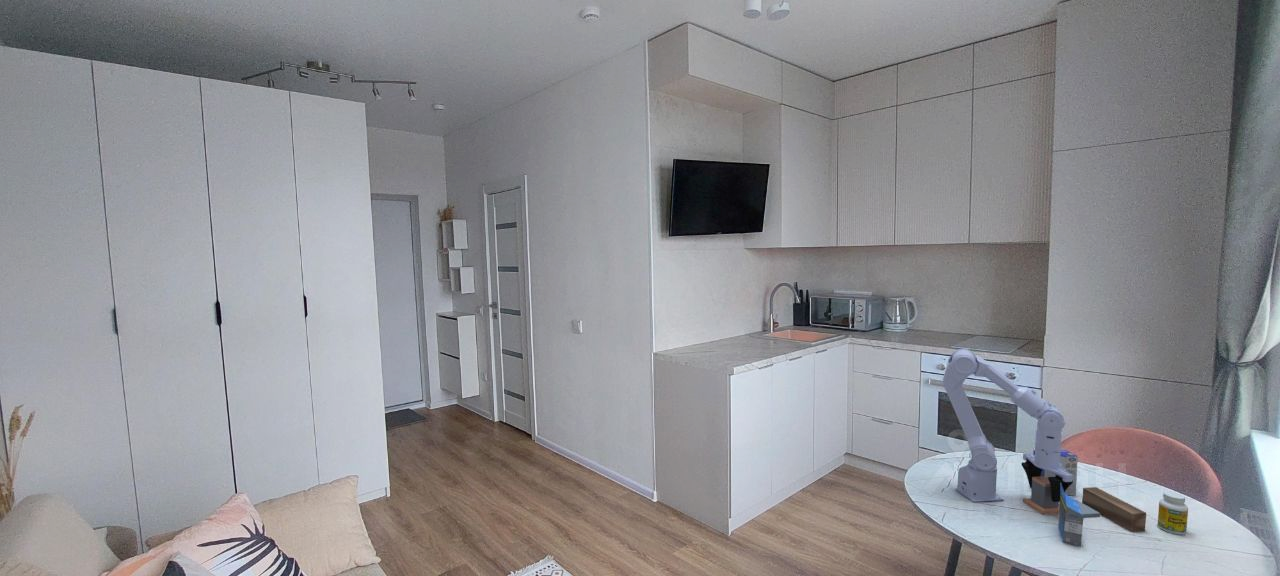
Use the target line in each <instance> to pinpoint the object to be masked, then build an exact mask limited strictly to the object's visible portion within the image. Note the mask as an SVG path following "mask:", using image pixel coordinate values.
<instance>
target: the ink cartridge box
mask: <svg viewBox="0 0 1280 576" xmlns="http://www.w3.org/2000/svg"><path fill="white" fill-rule="evenodd" d="M1033 455H1035V449H1034V450H1033ZM1078 459H1079V456H1078V455H1076V454H1074V453H1072V452H1070V451H1068V450H1067V449H1061V453H1060V463H1061V464H1062V467H1063V468H1064V469H1065V470H1066V471H1067V472H1068V473H1070V474H1072V475H1073V479H1072V480H1073V483H1072V484H1071V485H1070V486H1069V487H1068V488H1067V490H1066V491H1065V494H1066V495H1068V496H1076V495H1077V480H1078V478H1077V477H1078V476H1077V475H1078ZM1041 476H1047V477H1055V475H1054V474H1052V473H1050V472H1048V471H1046V470H1044V469H1043V470H1042V473H1041ZM1041 476H1040V477H1041Z"/></svg>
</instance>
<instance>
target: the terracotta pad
mask: <svg viewBox="0 0 1280 576" xmlns="http://www.w3.org/2000/svg"><path fill="white" fill-rule="evenodd" d="M1022 503H1023V504H1025V505H1027V506H1028V507H1030V508H1032V509H1034V510H1035V511H1037V512H1038V513H1040V514H1041V515H1057V514H1058V515H1059V507H1060V506H1058V508H1044V509H1043V508H1042V507H1040V506H1039V505H1037V504H1036V503H1034V502H1032V501H1031V497H1028V498H1022Z"/></svg>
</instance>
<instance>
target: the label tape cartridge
mask: <svg viewBox="0 0 1280 576" xmlns="http://www.w3.org/2000/svg"><path fill="white" fill-rule="evenodd" d="M1084 518H1085V517H1084V515H1083V513H1082V511H1081V509H1080V506H1079V504H1078V502H1077V499H1075V498H1073V497H1072V496H1071V495H1066V494H1065V493H1064V490H1063V487H1062V485H1061V483H1060V507H1059V514H1058V523H1057V527H1058V530H1059V534H1060V537H1061V541H1062V543H1064V544H1065V543H1066V544H1070V545H1074V546H1078V547H1081V546H1082V542H1083V541H1082V538H1083V529H1084V528H1083V527H1084Z"/></svg>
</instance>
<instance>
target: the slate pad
mask: <svg viewBox="0 0 1280 576" xmlns="http://www.w3.org/2000/svg"><path fill="white" fill-rule="evenodd" d="M1076 500H1077V499H1076ZM1077 502H1078V504H1079V506H1080V509H1081V511H1082V513H1083V515H1084V518H1098V517H1101V515H1100V513H1099V512H1097V511H1095V510H1094V509H1092V508H1090V507H1088V506H1087V505H1085V504H1083V503H1082V501H1079V500H1077ZM1059 506H1060V502H1059Z"/></svg>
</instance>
